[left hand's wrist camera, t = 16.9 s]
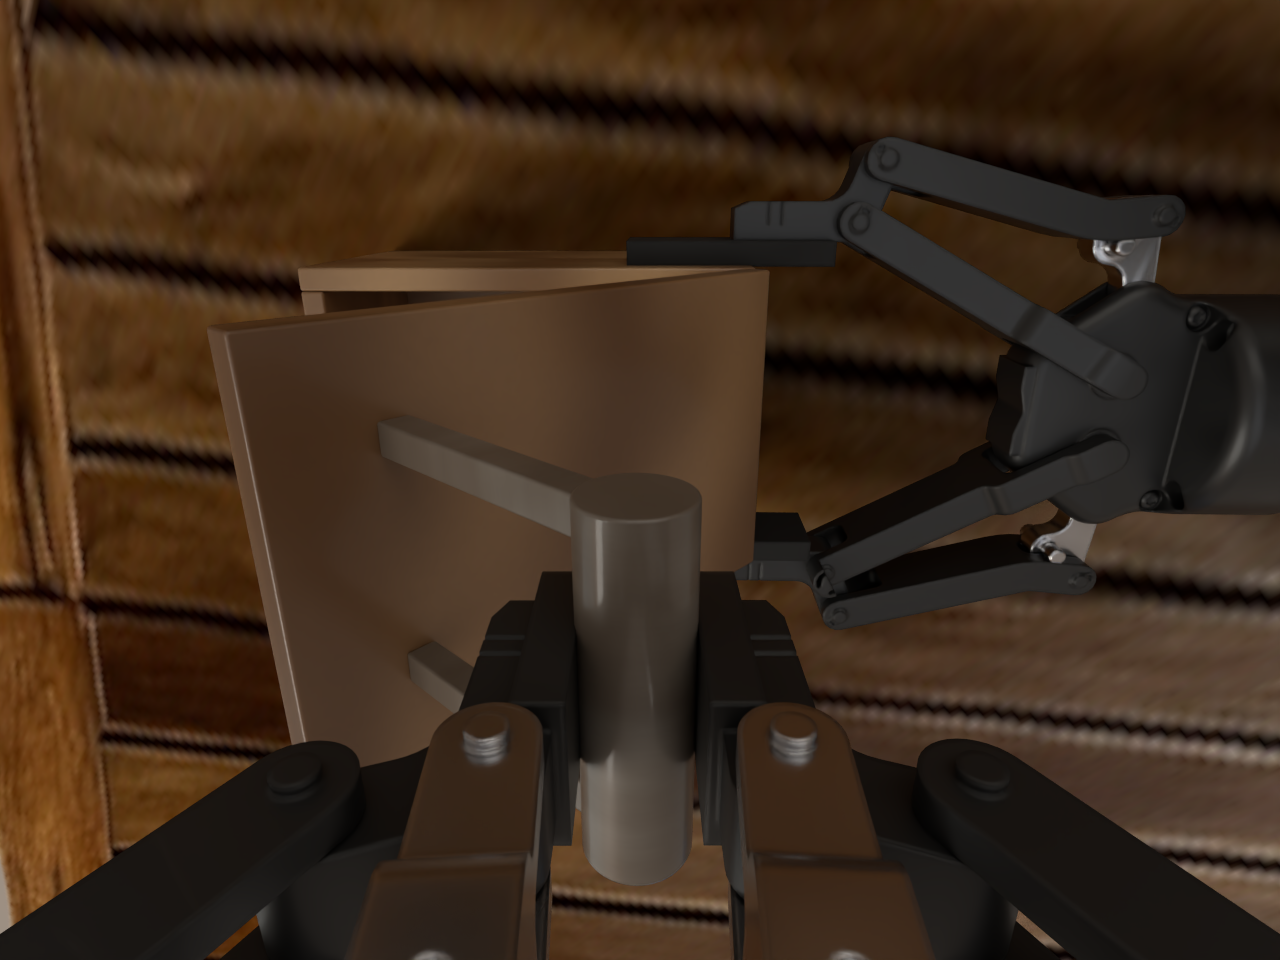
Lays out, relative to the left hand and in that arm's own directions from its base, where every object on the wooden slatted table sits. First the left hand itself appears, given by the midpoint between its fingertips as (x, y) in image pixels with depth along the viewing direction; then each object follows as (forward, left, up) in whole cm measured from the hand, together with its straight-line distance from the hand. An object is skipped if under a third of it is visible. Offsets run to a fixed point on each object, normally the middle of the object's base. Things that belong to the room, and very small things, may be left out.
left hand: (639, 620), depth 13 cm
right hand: (0, -1, -15) cm, 15 cm away
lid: (0, -2, -7) cm, 7 cm away
